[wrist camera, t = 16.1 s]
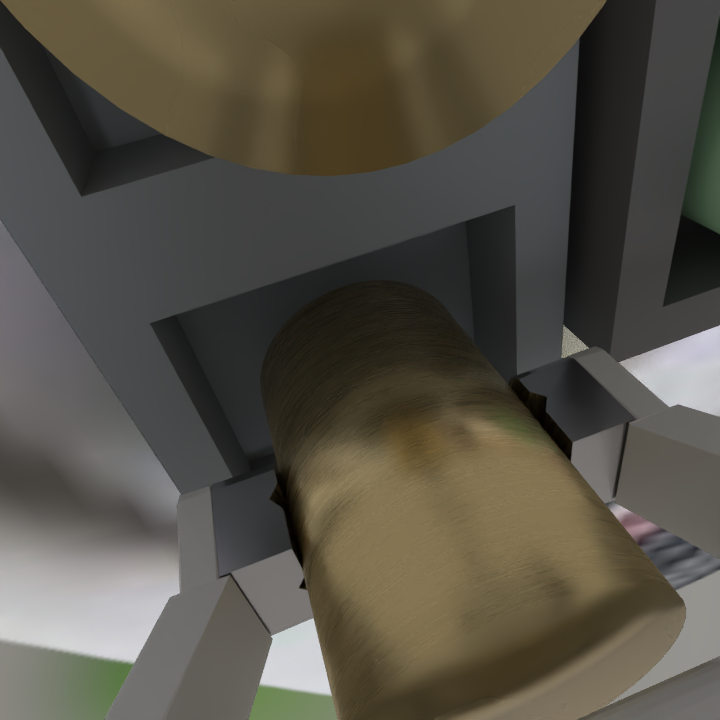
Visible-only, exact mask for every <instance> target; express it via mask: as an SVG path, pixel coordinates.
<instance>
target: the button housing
mask: <svg viewBox="0 0 720 720" xmlns="http://www.w3.org/2000/svg"><path fill="white" fill-rule="evenodd" d="M719 17H720V0H607V1H606V2H605V4H604V5H603V7H602V8H601V10H600V11H599V12H598V14H597V15H596V16H595V18H594V19H593V20H592V22H591V23H590V24H589V26H588V27H587V28H586V30H585V31H584V32H583V34H582V35H581V36H580V39H579V56H578V74H577V91H576V109H575V126H574V144H573V162H572V179H571V197H570V214H569V232H568V249H567V267H566V285H565V302H564V320H563V325H565V326H566V327H567V328H568V329H569V330H570V331H571V332H572V333H573V334H574V335H575V336H577V337H578V338H579V339H580V340H581V341H582V342H583V343H584V344H585V345H586V346H588V347H589V348H592V347H595V346H596V347H599V348H602V349H603V350H604V351H606V352H607V353H608V354H609V355H610V356H611V357H612V358H614V359H615V360H616V361H617V362H620V361H623V360H626V359H629V358H631V357H634V356H637V355H640V354H642V353H645V352H648V351H650V350H653V349H656V348H659V347H661V346H664V345H667V344H670V343H672V342H675V341H678V340H681V339H683V338H686V337H689V336H692V335H694V334H697V333H700V332H702V331H705V330H708V329H711V328H713V327H716V326H719V325H720V234H718V233H716V232H714V231H712V230H710V229H708V228H706V227H704V226H702V225H700V224H698V223H696V222H694V221H692V220H690V219H688V218H686V217H684V216H682V215H681V211H682V205H683V200H684V195H685V190H686V185H687V180H688V175H689V170H690V165H691V159H692V154H693V149H694V144H695V139H696V134H697V129H698V124H699V119H700V114H701V108H702V103H703V98H704V93H705V88H706V83H707V78H708V73H709V68H710V62H711V57H712V52H713V47H714V42H715V37H716V32H717V27H718V22H719Z"/></svg>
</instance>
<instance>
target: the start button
mask: <svg viewBox="0 0 720 720" xmlns="http://www.w3.org/2000/svg"><path fill="white" fill-rule="evenodd" d="M681 215H682V216H684V217H686V218H688V219H690V220H692V221H694V222H696V223H698V224H700V225H702V226H704V227H706V228H708V229H710V230H712V231H714V232H716V233H718V234H720V17H719V22H718V27H717V32H716V37H715V42H714V47H713V52H712V57H711V62H710V68H709V73H708V78H707V83H706V88H705V93H704V98H703V103H702V108H701V114H700V119H699V124H698V129H697V134H696V139H695V144H694V149H693V154H692V159H691V165H690V170H689V175H688V180H687V185H686V190H685V195H684V200H683V205H682V211H681Z"/></svg>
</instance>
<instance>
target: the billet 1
mask: <svg viewBox="0 0 720 720" xmlns="http://www.w3.org/2000/svg"><path fill="white" fill-rule="evenodd" d="M0 1H1V2H2V3H3V4H4V5H5V6H6V7H7V9H8V10H9V11H10V12H11V13H12V14H13V15H14V16H15V18H16V19H17V20H18V21H19V22H20V23H21V24H22V26H23V27H24V28H25V29H26V30H27V31H28V32H30V33H31V34H32V35H33V36H34V37H35V38H36V39H37V40H38V41H39V42H40V43H41V44H42V45H43V46H45V47H46V48H47V49H48V50H49V51H50V52H51V53H52V54H53V55H54V56H55V57H56V58H57V59H58V60H60V61H61V62H62V63H63V64H64V65H65V66H66V67H67V68H68V69H69V70H70V71H71V72H72V73H74V74H75V75H76V76H78V77H79V78H80V79H81V80H83V81H84V82H85V83H87V84H88V85H89V86H91V87H92V88H93V89H95V90H96V91H97V92H99V93H100V94H101V95H103V96H104V97H105V98H107V99H108V100H109V101H111V102H112V103H113V104H115V105H116V106H117V107H119V108H120V109H122V110H123V111H125V112H127V113H128V114H130V115H132V116H133V117H135V118H137V119H138V120H140V121H142V122H143V123H145V124H147V125H148V126H150V127H152V128H153V129H155V130H157V131H158V132H160V133H162V134H164V135H165V136H167V137H170V138H172V139H174V140H176V141H179V142H181V143H183V144H185V145H188V146H190V147H192V148H194V149H197V150H199V151H201V152H203V153H206V154H208V155H210V156H214V157H217V158H220V159H223V160H227V161H230V162H233V163H237V164H240V165H243V166H246V167H250V168H254V169H260V170H266V171H272V172H278V173H284V174H290V175H310V176H339V175H349V174H358V173H368V172H373V171H378V170H382V169H386V168H390V167H394V166H398V165H402V164H406V163H409V162H412V161H414V160H417V159H420V158H422V157H425V156H427V155H430V154H432V153H435V152H438V151H440V150H443V149H445V148H447V147H448V146H450V145H452V144H454V143H456V142H458V141H460V140H461V139H463V138H465V137H467V136H469V135H471V134H472V133H474V132H476V131H478V130H479V129H481V128H482V127H484V126H485V125H486V124H488V123H489V122H491V121H492V120H493V119H495V118H496V117H498V116H499V115H501V114H502V113H503V112H505V111H506V110H508V109H509V108H511V107H512V106H513V105H514V104H515V103H516V102H517V101H518V100H520V99H521V98H522V97H523V96H524V95H525V94H526V93H527V92H529V91H530V90H531V89H532V88H533V87H534V86H535V85H537V84H538V83H539V82H540V81H541V80H542V79H543V78H544V77H545V76H546V75H547V74H548V73H549V72H550V71H551V69H552V68H553V67H554V66H555V65H556V64H557V63H558V62H559V61H560V60H561V59H562V57H563V56H564V55H565V54H566V53H567V52H568V51H569V50H570V49H571V48H572V47H573V45H574V44H575V43H576V41H577V40H578V39H579V37H580V36H581V35H582V34H583V32H584V31H585V30H586V28H587V27H588V26H589V24H590V23H591V22H592V20H593V19H594V18H595V16H596V15H597V14H598V12H599V11H600V10H601V8H602V7H603V5H604V4H605V2H606V1H607V0H0Z"/></svg>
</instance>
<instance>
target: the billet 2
mask: <svg viewBox="0 0 720 720" xmlns="http://www.w3.org/2000/svg"><path fill="white" fill-rule="evenodd" d="M260 390H261V397H262V401H263V406H264V410H265V414H266V418H267V423H268V427H269V431H270V435H271V439H272V444H273V448H274V452H275V456H276V461H277V465H278V469H279V472H280V475H281V479H282V483H283V487H284V491H285V495H286V499H287V504H288V509H289V516H290V520H291V524H292V527H293V529H294V533H295V537H296V542H297V546H298V550H299V554H300V559H301V563H302V567H303V572H304V579H305V583H306V588H307V592H308V596H309V600H310V605H311V609H312V613H313V617H314V621H315V626H316V630H317V634H318V638H319V643H320V647H321V651H322V655H323V660H324V664H325V668H326V672H327V676H328V681H329V685H330V689H331V693H332V698H333V702H334V706H335V710H336V715H337V719H338V720H576V719H579V718H581V717H583V716H585V715H588V714H590V713H592V712H594V711H597V710H599V709H601V708H603V707H604V706H606V705H607V704H609V703H610V702H611V701H613V700H614V699H616V698H617V697H619V696H620V695H621V694H622V693H624V692H625V691H626V690H628V689H629V688H630V687H631V686H633V685H634V684H635V683H636V682H637V681H638V680H640V679H641V678H642V677H643V676H644V675H645V674H647V673H648V672H649V671H650V670H651V669H652V668H653V667H654V666H655V665H656V664H657V663H658V662H659V661H660V660H661V659H662V657H663V656H664V655H665V654H666V653H667V652H668V650H669V649H670V648H671V646H672V645H673V644H674V642H675V641H676V639H677V638H678V636H679V634H680V632H681V630H682V628H683V625H684V622H685V619H686V607H685V604H684V601H683V599H682V598H681V597H680V596H679V594H678V593H677V592H676V591H675V590H674V588H673V587H672V586H671V585H670V583H669V582H668V581H667V580H666V578H665V577H664V576H663V575H662V574H661V572H660V571H659V570H658V569H657V567H656V566H655V565H654V564H653V562H652V561H651V560H650V559H649V558H648V556H647V555H646V554H645V553H644V551H643V550H642V549H641V548H640V546H639V545H638V544H637V543H636V542H635V540H634V539H633V538H632V537H631V535H630V534H629V533H628V532H627V530H626V529H625V528H624V527H623V526H622V524H621V523H620V522H619V521H618V519H617V518H616V517H615V516H614V514H613V513H612V512H611V511H610V510H609V508H608V507H607V506H606V505H605V503H604V502H603V501H602V500H601V498H600V497H599V496H598V495H597V494H596V492H595V491H594V490H593V489H592V487H591V486H590V485H589V484H588V482H587V481H586V480H585V479H584V478H583V476H582V475H581V474H580V473H579V471H578V470H577V469H576V468H575V466H574V465H573V464H572V463H571V462H570V460H569V459H568V458H567V457H566V455H565V454H564V453H563V452H562V450H561V449H560V448H559V447H558V446H557V444H556V443H555V442H554V441H553V439H552V438H551V437H550V436H549V434H548V433H547V432H546V431H545V430H544V428H543V427H542V426H541V425H540V423H539V422H538V421H537V420H536V418H535V417H534V416H533V415H532V414H531V412H530V411H529V410H528V409H527V407H526V406H525V405H524V404H523V402H522V401H521V400H520V399H519V398H518V396H517V395H516V394H515V393H514V391H513V390H512V389H511V388H510V386H509V385H508V384H507V383H506V382H505V380H504V379H503V378H502V377H501V375H500V374H499V373H498V372H497V370H496V369H495V368H494V367H493V366H492V364H491V363H490V362H489V361H488V359H487V358H486V357H485V356H484V354H483V353H482V352H481V351H480V350H479V348H478V347H477V346H476V345H475V343H474V342H473V341H472V340H471V338H470V337H469V336H468V335H467V334H466V332H465V331H464V330H463V329H462V327H461V326H460V325H459V324H458V322H457V321H456V320H455V319H454V318H453V316H452V315H451V314H450V313H449V311H448V310H447V309H446V308H445V307H444V305H443V304H442V303H441V302H440V301H439V300H438V299H436V298H435V297H434V296H433V295H431V294H430V293H428V292H426V291H425V290H423V289H420V288H418V287H416V286H413V285H410V284H406V283H402V282H397V281H387V280H378V281H365V282H359V283H354V284H350V285H347V286H343V287H340V288H338V289H335V290H332V291H330V292H327V293H326V294H324V295H322V296H320V297H318V298H316V299H314V300H313V301H311V302H310V303H308V304H307V305H306V306H304V307H303V308H301V309H300V310H299V311H298V312H297V313H296V314H294V315H293V316H292V317H291V318H290V319H289V320H288V321H287V322H286V323H285V324H284V326H283V327H282V328H281V329H280V330H279V332H278V333H277V335H276V336H275V338H274V339H273V341H272V342H271V344H270V346H269V348H268V350H267V352H266V355H265V358H264V361H263V364H262V369H261V374H260Z"/></svg>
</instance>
